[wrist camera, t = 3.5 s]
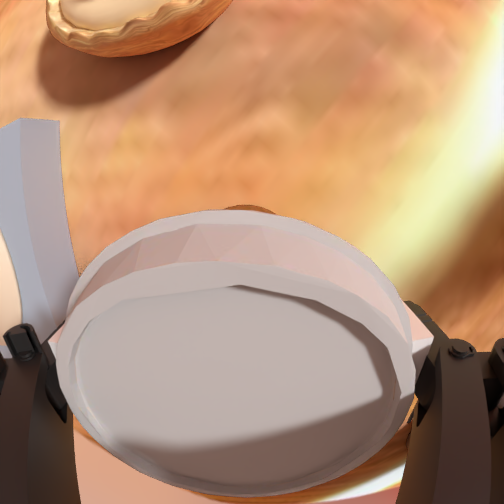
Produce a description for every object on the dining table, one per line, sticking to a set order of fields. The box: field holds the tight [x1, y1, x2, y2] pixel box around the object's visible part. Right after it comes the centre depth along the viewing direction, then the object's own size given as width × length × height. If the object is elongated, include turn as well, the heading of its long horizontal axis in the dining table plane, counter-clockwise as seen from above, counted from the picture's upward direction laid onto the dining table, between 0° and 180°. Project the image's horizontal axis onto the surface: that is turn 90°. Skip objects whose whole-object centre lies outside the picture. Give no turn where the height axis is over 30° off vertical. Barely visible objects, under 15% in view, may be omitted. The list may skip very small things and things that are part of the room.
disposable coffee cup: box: [56, 205, 416, 497], centre depth 11 cm, size 10×10×12 cm
